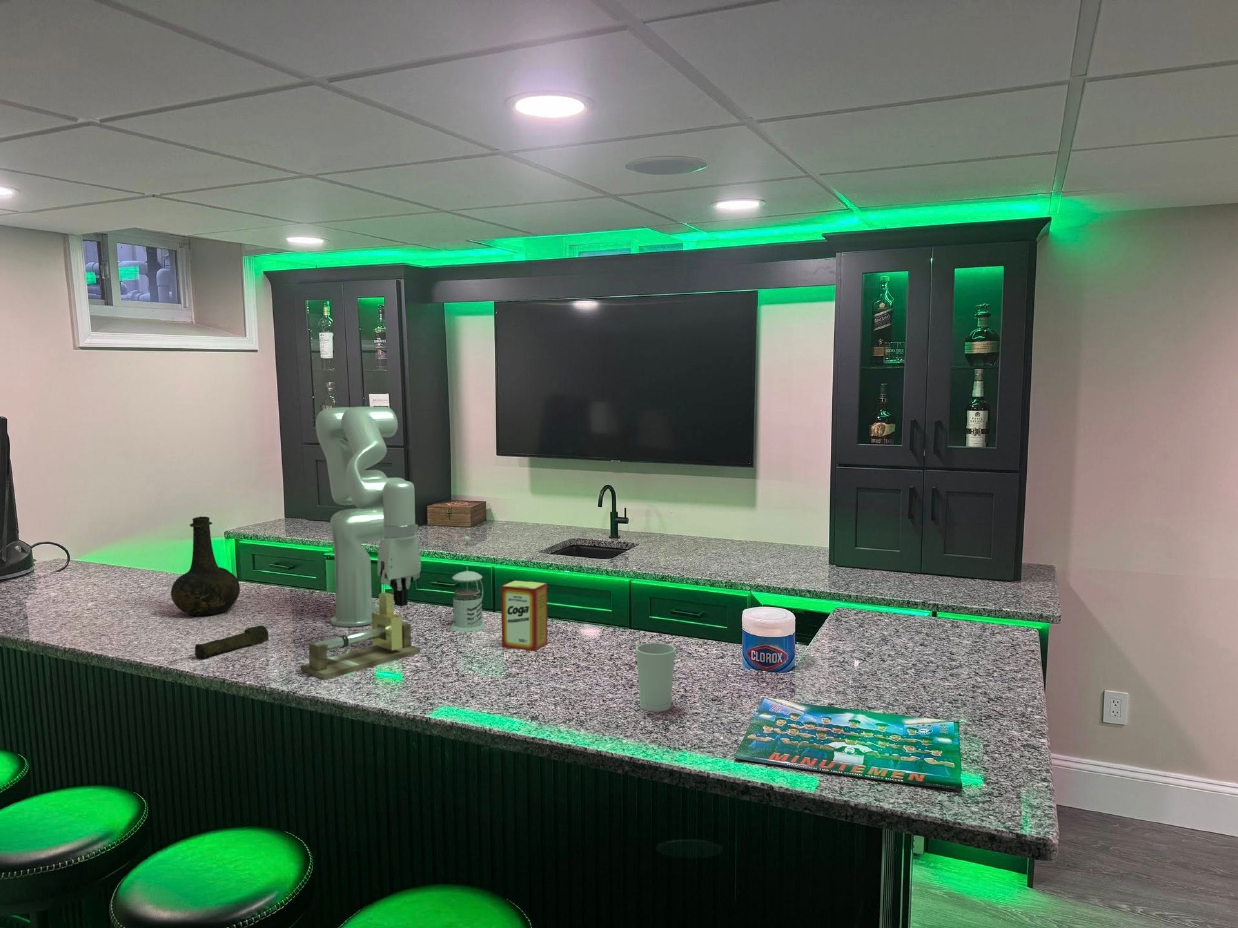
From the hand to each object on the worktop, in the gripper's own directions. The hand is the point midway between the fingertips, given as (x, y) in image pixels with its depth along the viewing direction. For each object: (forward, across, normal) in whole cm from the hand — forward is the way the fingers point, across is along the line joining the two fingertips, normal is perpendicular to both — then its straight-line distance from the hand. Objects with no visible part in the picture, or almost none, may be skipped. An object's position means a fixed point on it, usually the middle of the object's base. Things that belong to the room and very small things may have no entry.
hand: (401, 604), depth 210 cm
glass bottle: (+12, +14, -75) cm, 77 cm away
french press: (+12, -26, -5) cm, 29 cm away
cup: (+12, -10, +71) cm, 73 cm away
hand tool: (+12, +26, -34) cm, 44 cm away
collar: (+9, +4, 0) cm, 10 cm away
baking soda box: (+12, -23, +20) cm, 33 cm away
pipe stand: (+12, +11, 0) cm, 16 cm away
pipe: (+7, +11, 0) cm, 13 cm away
